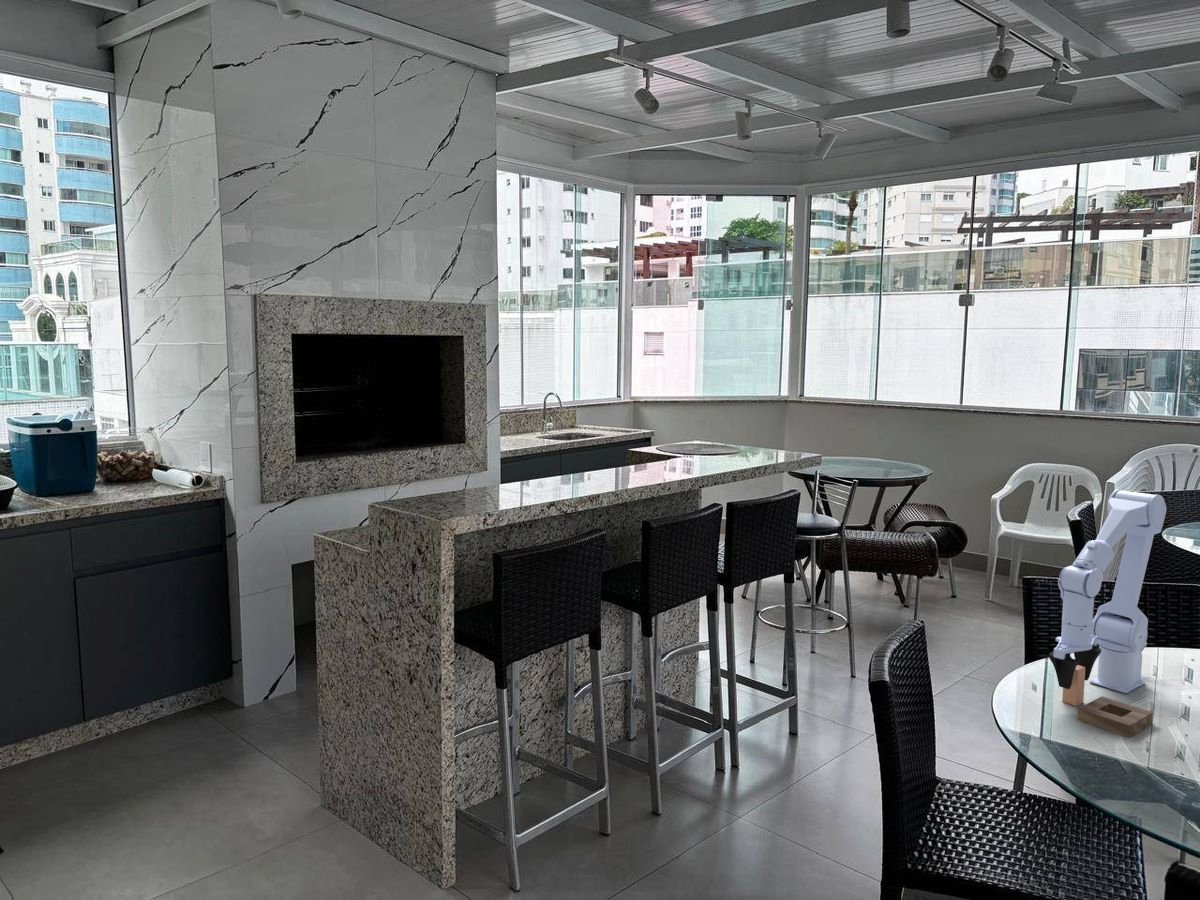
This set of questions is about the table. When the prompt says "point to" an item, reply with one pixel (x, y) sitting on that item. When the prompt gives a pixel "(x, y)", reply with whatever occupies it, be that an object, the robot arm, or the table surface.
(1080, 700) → the peg
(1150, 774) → the table surface
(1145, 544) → the robot arm
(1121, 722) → the socket
